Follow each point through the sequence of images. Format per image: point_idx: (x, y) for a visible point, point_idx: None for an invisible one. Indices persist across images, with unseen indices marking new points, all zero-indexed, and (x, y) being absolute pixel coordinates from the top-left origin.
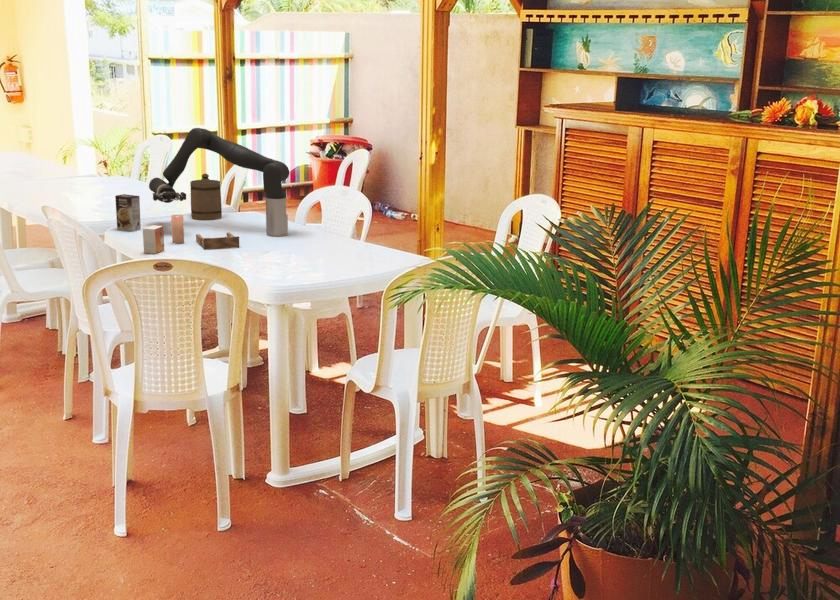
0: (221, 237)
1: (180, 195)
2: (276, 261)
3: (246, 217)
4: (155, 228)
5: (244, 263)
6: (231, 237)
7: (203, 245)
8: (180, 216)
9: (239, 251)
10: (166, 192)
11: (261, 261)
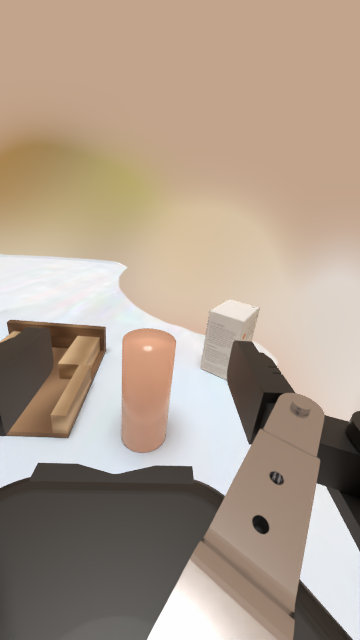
0: (55, 325)
1: (8, 353)
2: (45, 288)
3: None
4: (228, 301)
5: (93, 292)
6: (31, 321)
7: (92, 365)
8: (140, 330)
9: None
10: (171, 600)
11: (64, 292)
